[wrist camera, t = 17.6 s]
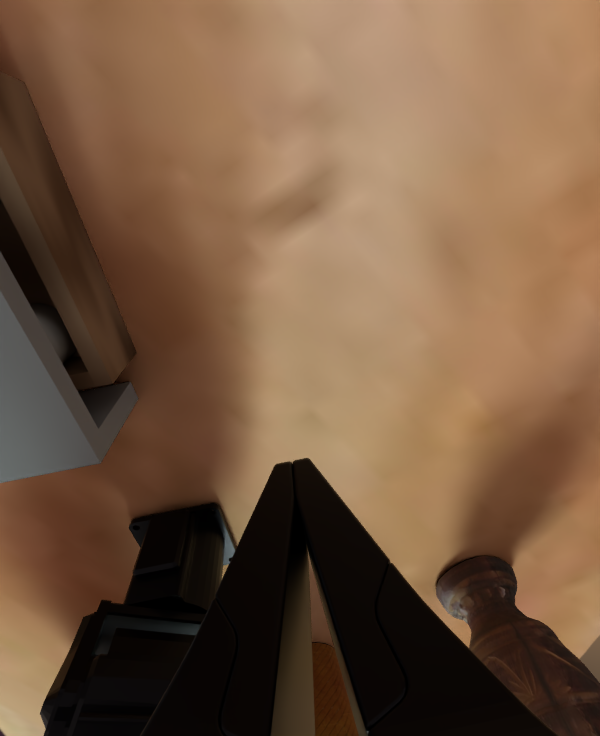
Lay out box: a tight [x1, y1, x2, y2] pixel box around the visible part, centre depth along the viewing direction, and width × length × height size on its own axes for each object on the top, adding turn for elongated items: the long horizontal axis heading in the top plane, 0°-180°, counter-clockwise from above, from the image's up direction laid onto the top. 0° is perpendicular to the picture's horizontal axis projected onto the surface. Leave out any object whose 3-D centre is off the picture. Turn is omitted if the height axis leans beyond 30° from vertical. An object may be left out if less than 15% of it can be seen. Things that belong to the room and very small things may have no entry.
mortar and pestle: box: [436, 556, 600, 736], centre depth 24 cm, size 12×9×20 cm
